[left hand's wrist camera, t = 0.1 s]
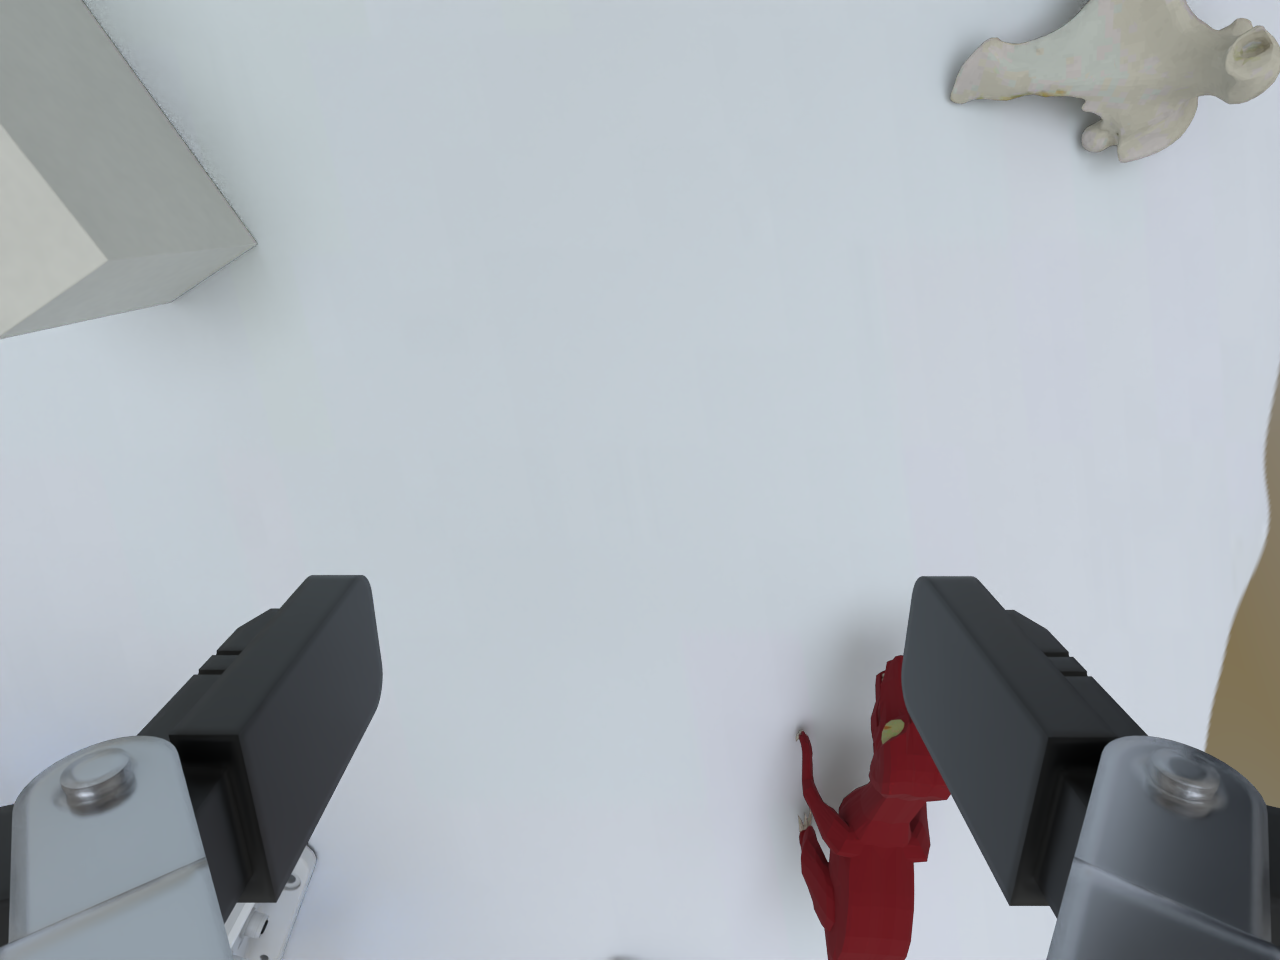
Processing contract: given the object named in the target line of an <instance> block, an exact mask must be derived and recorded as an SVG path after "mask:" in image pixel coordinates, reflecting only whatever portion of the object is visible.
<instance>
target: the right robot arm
mask: <svg viewBox="0 0 1280 960" xmlns="http://www.w3.org/2000/svg"><path fill="white" fill-rule="evenodd" d="M315 865H316V856H315V854H314V852H313V851H312V850H311V849H310V848H309V847H308V846H307V845H306V847H305V849H304V851H303V853H302V854H301V856H300V858H299V860H298V862H297V864H296V866H295V868H294V870H293V872H292V874H291V876H290V878H289V880H288V881H287V883H286V885H285V887H284V889H283V891H282V893H281V895H280V897H279V899H278V901H277V903H236V905H235V907H234V909H233V910H232V912H231V914H230V916H229V917H228V919H227V921H226V923H225V924H224V926H225V929H226V933H227V937H228V941H229V944H230V948H231V952H232V956H233V959H234V960H281V958H282V955H283V953H284V950H285V947H286V944H287V942H288V939H289V936H290V933H291V931H292V928H293V925H294V922H295V920H296V917H297V914H298V911H299V909H300V906H301V903H302V900H303V898H304V895H305V892H306V889H307V887H308V884H309V881H310V878H311V876H312V873H313V870H314V867H315Z"/></svg>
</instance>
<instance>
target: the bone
mask: <svg viewBox="0 0 1280 960" xmlns="http://www.w3.org/2000/svg"><path fill="white" fill-rule="evenodd" d="M1279 72H1280V47H1279V45H1278V43H1277V41H1276V40H1275V38H1274V37H1273V36H1272V35H1271V34H1270V33H1269V32H1268V31H1266V29H1265V28H1264V27H1263V26H1255V27H1253V26H1252V24H1251V21H1249V20H1248V19H1244V18H1239V19H1236V20H1235V21H1234V22H1233V23H1232V24H1231V25H1229V26H1227V27H1225V28H1223V29H1221V30H1215V29H1212V28H1211V27H1210V26H1209V25H1207V24H1206V23H1205V22H1203V21H1202V20H1200V19H1199V18H1197V17H1196V16H1195V14H1194V13H1193V12H1192V11H1191V9H1190V8H1189V6H1188V5H1187V2H1186V0H1089V2H1088V3H1087V4H1086V5H1085V6H1084V7H1083V8H1082V10H1081V11H1080V12H1079V13H1078V14H1077V15H1076V16H1075V17H1074V18H1073V19H1072V20H1070V21H1069V22H1068V23H1066V24H1065V25H1064V26H1062V27H1061V28H1059V29H1057V30H1056V31H1054V32H1052V33H1050V34H1048V35H1046V36H1043V37H1040V38H1038V39H1035V40H1032V41H1029V42H1025V43H1020V44H1012V43H1006V42H1003V41H1001V40H1000V39H998V38H990V39H988V40H986V41H985V42H983V43H982V44H981V45H980V46H979V47H978V48H977V49H976V50H975V51H974V52H973V53H972V54H971V56H970V57H969V58H968V59H967V60H966V61H965V63H964V64H963V65H962V67H961V69H960V70H959V73H958V75H957V78H956V80H955V84H954V87H953V90H952V92H951V97H950V99H951V101H953V102H954V103H958V104H963V103H966V102H969V101H971V100H974V99H989V100H1011V99H1014V98H1017V97H1021V96H1024V95H1033V94H1035V95H1039V96H1044V97H1049V96H1071V97H1076V98H1082V99H1084V100H1085V103H1084V104H1083V105H1082V110H1083V111H1085V112H1092V113H1095V114H1096V115H1099V116H1100V117H1101V119H1100V120H1099V121H1097V122H1096V123H1094V124H1092V125H1090V126H1088V127H1087V128H1086V129H1085V130H1084V132H1083V134H1082V139H1081V140H1082V145H1083V147H1084V148H1085V149H1086V150H1088V151H1089V152H1101V151H1103V150H1104V149H1106V148H1108V147H1110V146H1112V145H1118V146H1117V153H1118V158H1119V161H1120V162H1121V163H1126V162H1130V161H1134V160H1138V159H1141V158H1144V157H1147V156H1150V155H1152V154H1155V153H1157V152H1159V151H1161V150H1163V149H1165V148H1166V147H1168V146H1169V145H1171V144H1172V143H1174V142H1175V141H1176V140H1177V139H1179V138H1180V137H1181V136H1182V134H1183V133H1184V132H1185V131H1186V129H1187V128H1188V126H1189V125H1190V123H1191V121H1192V119H1193V118H1194V115H1195V113H1196V110H1197V105H1198V96H1203V95H1212V96H1216V97H1218V98H1219V99H1221V100H1223V101H1224V102H1226V103H1228V104H1240V103H1244V102H1247V101H1249V100H1251V99H1253V98H1255V97H1257V96H1259V95H1260V94H1262V93H1263V92H1264V91H1265V90H1266V89H1268V88H1269V87H1270V86H1271V85H1272V84H1273V83H1274V82H1275V80H1276V78H1277V76H1278V74H1279Z"/></svg>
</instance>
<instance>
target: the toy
mask: <svg viewBox="0 0 1280 960" xmlns="http://www.w3.org/2000/svg"><path fill="white" fill-rule="evenodd" d="M902 662H903V655H899V656H896V657H895V658H894V659H893V660H891V661H888V662H887V665H886V670H885V671H883V672H881V673H879V674H878V675H876V684H875V689H876V703H875V706H874V709H873V713H872V716H871V732H872V738H873V749H874V755H873V759H872V762H871V765H870V773H869V778H870V782H869V783H868V784H866V785H864V786H862V787H859V788H857V789H855V790H854V791H852V792H851V793H850V794H849V795H847V796H846V797H845V798H844V799H843V801H842V803H841V805H840V807H839V814H838V813H837V812H836V811H835V810H834V809H833V808H831V807H830V806H828V805H827V804H825V803H824V802H823V800H822V798H821V797H820V795H819V793H818V791H817V788H816V786H815V784H814V779H813V763H812V747H811V743H810V740H809V737H808V736H807V734H805V732H804V731H802V730H800V731H799V734H797V736H796V741H797V740H798V739H799V740H800V743H801V747H802V786H803V796H804V798H805V800H806V802H807V804H808V806H809V808H810V813H809V817H808V821H807V816H806V814H805V813H804V814H805V818H804V824H803V823H802V820H801V819H800V817H799V816H798V817H799V832H800V835H799V840H800V845H801V851H802V853H801V868H802V875H803V877H804V879H805V882H806V884H807V886H808V889H809V892H810V895H811V898H812V901H813V905H814V910H815V912H816V914H817V916H818V918H819V920H820V922H821V924H822V926H823V927H824V928H825V937H826V946H827V955H828V960H905V958H906V957H907V953H908V949H909V946H910V942H911V934H912V924H913V913H914V862H927V858H928V853H929V848H930V838H929V829H928V821H927V807H926V802H928V801H939V800H947V799H948V797H949V796H950V794H951V793H950V791H949V789H948V787H947V785H946V784H945V782H944V780H943V778H942V776H941V774H940V772H939V770H938V768H937V766H936V764H935V763H934V761H933V759H932V757H931V755H930V753H929V751H928V749H927V747H926V745H925V744H924V742H923V740H922V738H921V736H920V734H919V732H918V730H917V728H916V726H915V724H914V723H913V721H912V719H911V717H910V715H909V713H908V711H907V708H906V705H905V701H904V697H903V691H902V681H901V672H902ZM811 812H812V814H813V816H814V819H815V821H816V824H817V826H818V829H819V831H820V834H821V836H822V839H823V840H824V841H825V843H826V844H827V845H828V847H829V848H830V858H829V862H827V860H826V858H825V855H824V853H823V851H822V849H821V847H820V845H819V843H818V841H817V838H816V834H815V831H814V829H813V827H812V826H811V821H812V814H811Z"/></svg>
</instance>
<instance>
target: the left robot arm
mask: <svg viewBox="0 0 1280 960" xmlns="http://www.w3.org/2000/svg"><path fill="white" fill-rule="evenodd" d="M382 677H383V673H382V661H381V654H380V647H379V640H378V633H377V626H376V619H375V611H374V604H373V597H372V591H371V587H370V583H369V581H368V579H367V578H366V577H365V576H363V575H311V576H309V577H308V578H307V579H305V581H304V582H303V583H302V584H301V585H300V586H299V587H298V589H297V590H296V591H295V592H294V593H293V594H292V595H291V596H290V598H289V599H288V600H287V601H286V602H285V603H284V604H283V605H282V607H281V608H280V609H269V610H268V611H266V612H264V613H263V614H261V615H259V616H257V617H256V618H254V619H252V620H251V621H249V622H247V623H246V624H244V625H242V626H241V627H239V628H238V629H237V630H236V631H235V632H234V633H233V634H232V635H231V636H230V637H229V638H228V639H227V640H226V641H225V642H224V643H223V644H222V646H221V647H220V648H219V649H218V650H217V654H216V655H212V656H211V657H210V658H209V659H208V660H207V661H206V663H205V664H204V665H203V666H202V667H201V668H200V669H199V674H198V675H193V676H192V677H191V678H190V680H189V681H188V682H187V683H186V684H185V685H184V686H183V687H182V688H181V689H180V690H179V691H178V692H177V693H176V694H175V695H174V697H173V698H172V699H171V700H170V701H169V702H168V703H167V704H166V705H165V706H164V707H163V708H162V709H161V710H160V711H159V712H158V714H157V715H156V716H155V717H154V718H153V719H152V720H151V721H150V722H149V723H148V724H147V725H146V726H145V727H144V728H143V729H142V731H141V732H140V733H139V734H138V735H137V736H129V737H122V738H117V739H112V740H108V741H105V742H101V743H98V744H95V745H92V746H89V747H87V748H84V749H81V750H79V751H77V752H75V753H73V754H71V755H69V756H67V757H65V758H63V759H61V760H60V761H58V762H56V763H54V764H53V765H51V766H50V767H48V768H47V769H45V770H44V771H43V772H41V773H40V774H39V775H38V776H36V777H35V778H34V779H33V780H32V781H31V782H30V783H29V784H28V785H27V786H26V787H25V788H24V789H23V791H22V792H21V793H20V795H19V796H18V798H17V800H16V802H15V804H12V805H7V806H3V807H0V960H234V959H233V956H232V952H231V948H230V944H229V941H228V937H227V933H226V929H225V926H224V924H225V923H226V921H227V919H228V917H229V916H230V914H231V912H232V910H233V909H234V907H235V905H236V903H277V901H278V899H279V897H280V895H281V893H282V891H283V889H284V887H285V885H286V883H287V881H288V880H289V878H290V876H291V874H292V872H293V870H294V868H295V866H296V864H297V862H298V860H299V858H300V856H301V854H302V853H303V851H304V849H305V847H306V845H307V843H308V841H309V839H310V837H311V835H312V833H313V831H314V829H315V827H316V825H317V824H318V822H319V820H320V818H321V816H322V814H323V812H324V810H325V808H326V806H327V804H328V802H329V800H330V798H331V797H332V795H333V793H334V791H335V789H336V787H337V785H338V783H339V781H340V779H341V777H342V775H343V773H344V771H345V769H346V768H347V766H348V764H349V762H350V760H351V758H352V756H353V754H354V752H355V750H356V748H357V746H358V744H359V742H360V741H361V739H362V737H363V735H364V733H365V731H366V729H367V727H368V725H369V723H370V721H371V719H372V717H373V715H374V714H375V711H376V709H377V707H378V704H379V700H380V695H381V690H382ZM901 681H902V691H903V697H904V701H905V705H906V708H907V711H908V713H909V715H910V717H911V719H912V721H913V723H914V724H915V726H916V728H917V730H918V732H919V734H920V736H921V738H922V740H923V742H924V744H925V745H926V747H927V749H928V751H929V753H930V755H931V757H932V759H933V761H934V763H935V764H936V766H937V768H938V770H939V772H940V774H941V776H942V778H943V780H944V782H945V784H946V785H947V787H948V789H949V791H950V793H951V795H952V797H953V799H954V801H955V803H956V805H957V806H958V808H959V810H960V812H961V814H962V816H963V818H964V820H965V822H966V824H967V826H968V827H969V829H970V831H971V833H972V835H973V837H974V839H975V841H976V843H977V845H978V847H979V848H980V850H981V852H982V854H983V856H984V858H985V860H986V862H987V864H988V866H989V867H990V869H991V871H992V873H993V875H994V877H995V879H996V881H997V883H998V885H999V887H1000V888H1001V890H1002V892H1003V894H1004V896H1005V898H1006V900H1007V902H1008V904H1009V906H1050V907H1051V909H1052V911H1053V912H1054V914H1055V916H1056V918H1057V922H1056V926H1055V929H1054V933H1053V937H1052V941H1051V944H1050V948H1049V952H1048V956H1047V959H1046V960H1280V808H1276V807H1272V806H1268V805H1266V804H1265V802H1264V800H1263V798H1262V796H1261V795H1260V793H1259V792H1258V791H1257V789H1256V788H1255V787H1254V786H1253V785H1252V784H1251V783H1250V782H1249V781H1248V780H1247V779H1246V778H1245V777H1243V776H1242V775H1241V774H1240V773H1239V772H1237V771H1236V770H1235V769H1233V768H1232V767H1230V766H1228V765H1227V764H1226V763H1224V762H1222V761H1220V760H1219V759H1217V758H1215V757H1213V756H1211V755H1209V754H1207V753H1205V752H1203V751H1201V750H1199V749H1196V748H1193V747H1191V746H1188V745H1185V744H1182V743H1179V742H1175V741H1172V740H1168V739H1163V738H1158V737H1151V736H1148V735H1147V734H1146V733H1145V732H1144V731H1143V730H1142V729H1141V728H1140V727H1139V726H1138V725H1137V724H1136V723H1135V722H1134V721H1133V719H1132V718H1131V717H1130V716H1129V715H1128V714H1127V713H1126V712H1125V711H1124V710H1123V709H1122V708H1121V707H1120V706H1119V705H1118V704H1117V703H1116V702H1115V701H1114V699H1113V698H1112V697H1111V696H1110V695H1109V694H1108V693H1107V692H1106V691H1105V690H1104V689H1103V688H1102V687H1101V686H1100V685H1099V684H1098V683H1097V682H1096V681H1095V679H1094V678H1093V677H1092V676H1087V671H1086V670H1085V669H1084V668H1083V667H1082V666H1081V665H1080V664H1079V663H1078V662H1077V661H1076V659H1075V658H1074V657H1069V652H1068V651H1067V650H1066V649H1065V648H1064V647H1063V646H1062V645H1061V644H1060V643H1059V642H1058V641H1057V639H1056V638H1055V637H1054V636H1053V635H1052V634H1051V633H1050V632H1049V631H1048V630H1047V629H1045V628H1044V627H1042V626H1040V625H1039V624H1037V623H1035V622H1034V621H1032V620H1030V619H1028V618H1027V617H1025V616H1023V615H1022V614H1020V613H1018V612H1017V611H1015V610H1005V609H1004V608H1003V607H1002V606H1001V605H1000V604H999V602H998V601H997V600H996V599H995V598H994V597H993V596H992V595H991V593H990V592H989V591H988V590H987V589H986V588H985V587H984V586H983V585H982V583H981V582H980V581H979V580H978V579H977V578H975V577H972V576H922V577H919V578H918V579H917V581H916V583H915V585H914V588H913V593H912V599H911V606H910V613H909V620H908V627H907V634H906V641H905V648H904V655H903V662H902V672H901Z"/></svg>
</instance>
